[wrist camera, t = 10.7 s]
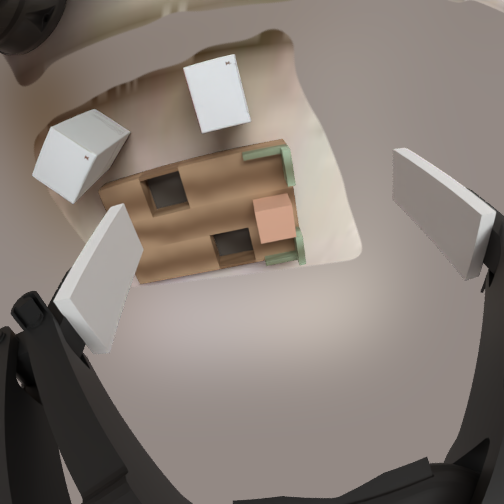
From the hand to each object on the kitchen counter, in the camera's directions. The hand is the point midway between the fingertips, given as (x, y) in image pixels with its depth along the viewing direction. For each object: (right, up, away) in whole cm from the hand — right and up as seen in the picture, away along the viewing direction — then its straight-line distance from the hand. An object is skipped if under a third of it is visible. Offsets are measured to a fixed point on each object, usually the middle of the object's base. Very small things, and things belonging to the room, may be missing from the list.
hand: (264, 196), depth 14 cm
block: (+2, +3, +31) cm, 31 cm away
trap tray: (-8, +4, +34) cm, 35 cm away
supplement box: (-23, +14, +26) cm, 37 cm away
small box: (-5, +20, +23) cm, 31 cm away
